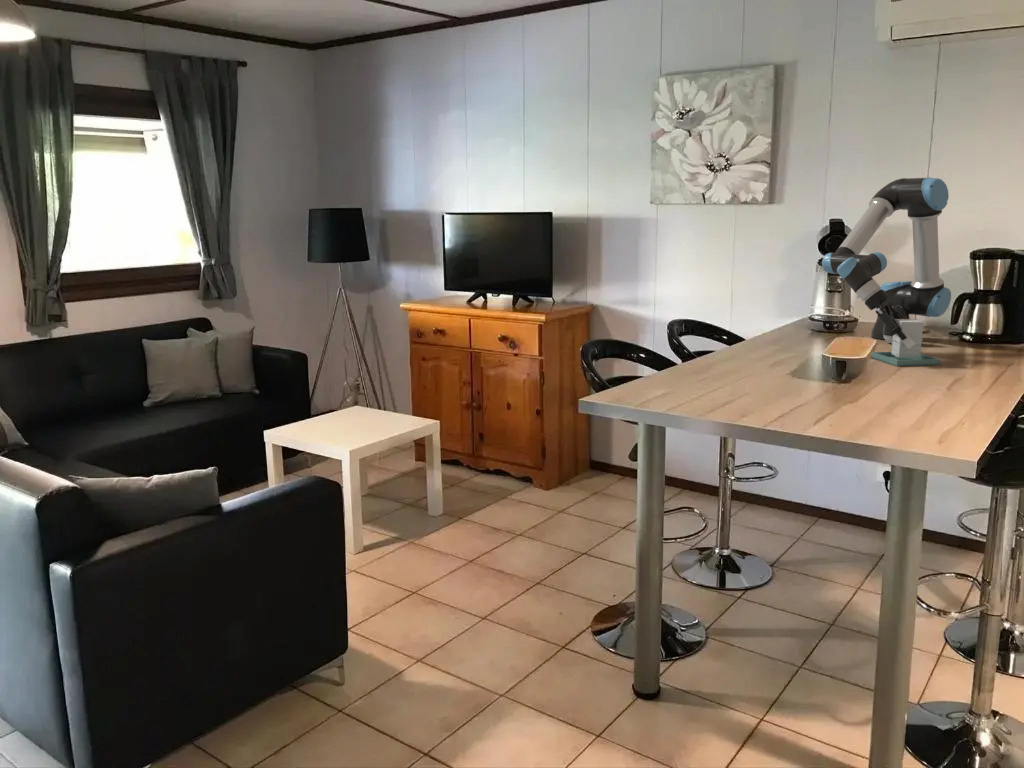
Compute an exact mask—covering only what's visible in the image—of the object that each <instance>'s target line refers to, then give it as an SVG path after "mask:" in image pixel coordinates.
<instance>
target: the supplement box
mask: <svg viewBox="0 0 1024 768" xmlns="http://www.w3.org/2000/svg"><path fill="white" fill-rule="evenodd" d="M895 320H896V321H897V323H898V325H899V326H900V328H901V330H902V329H903V330H904V331H905V332H906V333H907V334H908V335H909V337H910V338H911V339H912V340H913V341H914V342H915V343H916V344H915V345H914V346H912V347H911V348H909V349H908V348H907V346H906V345H905V344H904V343H903V342H902V341H901V340H900V338H899V337H898V336H897V335H896V334H895V335H893V342H892V344H891V351H890V352H891V354H893V355H895V356H896V357H899V358H900V357H905V358H920V353H921V350H922V349H921V348H922V341H923V340H922V339H923V332H924V331H923V330H924V322H923V321H922V320H918V319H916V318H910V319H895Z"/></svg>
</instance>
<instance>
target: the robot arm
mask: <svg viewBox="0 0 1024 768" xmlns="http://www.w3.org/2000/svg"><path fill="white" fill-rule="evenodd" d="M949 197H950V196H949V188H948V186H947V184H946V182H945V181H943V179H941V178H938V177H913V178H912V177H911V178H905V177H904V178H903V177H902V178H898V179H895V180H893V181H891V182H889V183H887V184H886V185H885V186H883V187H882V188H880V190H878V191H877V192H876V193H875V194H874V196H873V197H872V198H871V199H870V200H869V202H868V207H867V209H866V210H865V212H864V213H863V214H862V216H860V218H859V220H858V221H857V223H856V224H855V225H854V226H853V228H852V230H851V231H850V232H849V234H848V235H847V236H846V237H845V239H844V240H843V241H842V243H841V244H840V245H839V247H838V248H837V249H836V250H835V252H828V253H826V254H824V256H823V258H822V261H821V267H822V268H823V271H824V272H825V273H829V274H833V275H839V276H840V277H841V280H843V281H844V282H845V284H847V285H848V286H849V287H850V288H851V289H852V290H853V292H854V293H855V295H857V296H856V299H857V298H858V299H860V300H861V301H862V302H864V305H865V306H866V307H867V308H868V309H869V310H870V311H872V310H875V309H876V310H875V311H874V312H875V313H876V314H877V316H876V317H877V318H876V320H875V323H874V325H873V327H872V328H871V329H872V330H871V332H870V337H871V338H872V337H874V338H873V339H876V338H877V339H876V340H883V339H884V336H883V328H884V324H886V326H887V327H888V328H889V330H890V331H891V333H892V335H895V334H896V335H897V336H898V337H899V338H900V340H901V341H902V342H903V343H904V344H905V345H906V346H907V348H908V349H909V348H911V347H912V346H914V345H915V344H916V343H915V342H914V341H913V340H912V339H911V338H910V337H909V335H908V334H907V333H906V332H905V331H904V330H903V329H902V330H901V328H900V326H899V325H898V323H897V321H896V320H895V319H906V318H905V317H904V316H903V315H902V314H901V313H900V312H899V311H898V310H897V309H896V308H895V307H894V306H897V305H902V306H904V307H905V308H906V310H907V312H908V314H909V315H913V316H921V317H922V316H923V317H927V318H930V317H931V318H939V317H941V316H942V315H944V314H945V313H946V312H947V310H948V309H949V306H950V304H951V299H952V291H951V290H950V289H949V288H948V287H947V286H946V287H945V281H944V280H943V279H942V278H941V277H940V256H939V255H940V254H939V227H938V226H939V224H938V220H939V219H938V218H939V216H940V215H941V214H942V213H943V211H942V210H944V209H945V208H946V206H948V201H949ZM899 210H903V211H904V210H906V211H907V218H909V219H910V220H911V221H912V224H911V225H912V241H913V244H912V246H913V247H912V248H913V267H914V268H913V269H914V279H913V281H911V280H908V281H907V280H905V281H891V282H889V281H888V282H883V283H882V284H881V285H880V284H879V283H878V282H877V281H876V280H875V279H874V278H873V277H874V276H876V275H879V274H880V273H882V272H883V271H884V270H885V269H886V268H887V266H888V261H887V258H886V255H884V254H883V253H881V252H880V251H879V252H878V251H875V252H871V253H869V254H861V252H862V251H863V249H864V248H865V247H866V246H867V244H868V243H869V242H870V240H871V239H872V238H873V236H874V235H875V233H876V232H877V230H878V229H879V228H880V227H881V226H882V224H883V223H884V221H886V218H888V217H891V216H892V215H893V214H894V212H896V211H899ZM922 341H924V339H923V338H922Z"/></svg>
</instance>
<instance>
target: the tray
mask: <svg viewBox="0 0 1024 768" xmlns="http://www.w3.org/2000/svg"><path fill="white" fill-rule="evenodd" d="M871 352H872V353H871ZM871 352H870V358H871V359H873V360H875V361H878V360H879V361H878V362H881V361H882V363H884V362H885V363H884V364H887V363H888V365H890V364H891V366H893V365H894V366H893V367H896V366H900V367H928V365H929V367H932V366H933V365H939V366H941V363H942V362H941V361H942V359H941V358H937V357H934V356H931V355H927V354H923V353H921V352H920V358H905V357H900V358H899V357H896V356H895V355H893V354H891V352H892V351H871ZM933 367H934V366H933Z"/></svg>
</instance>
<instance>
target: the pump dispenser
mask: <svg viewBox="0 0 1024 768" xmlns="http://www.w3.org/2000/svg"><path fill="white" fill-rule="evenodd" d="M894 307H895V308H896V309H897V310H898V311H899V312H900V313H901V314H902V315H903V316H904V317H905V318H906V319H911V318H910V314H908V312H907V310H906V308H905V307H904V306H902V305H897V306H894ZM883 336H884V339H885V340H884V341H885V343H888V344H889V343H891V344H890V345H892V342H893V335H892V333H891V331H890V330H889V328H888V327H887V326H886V324H884V328H883Z"/></svg>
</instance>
